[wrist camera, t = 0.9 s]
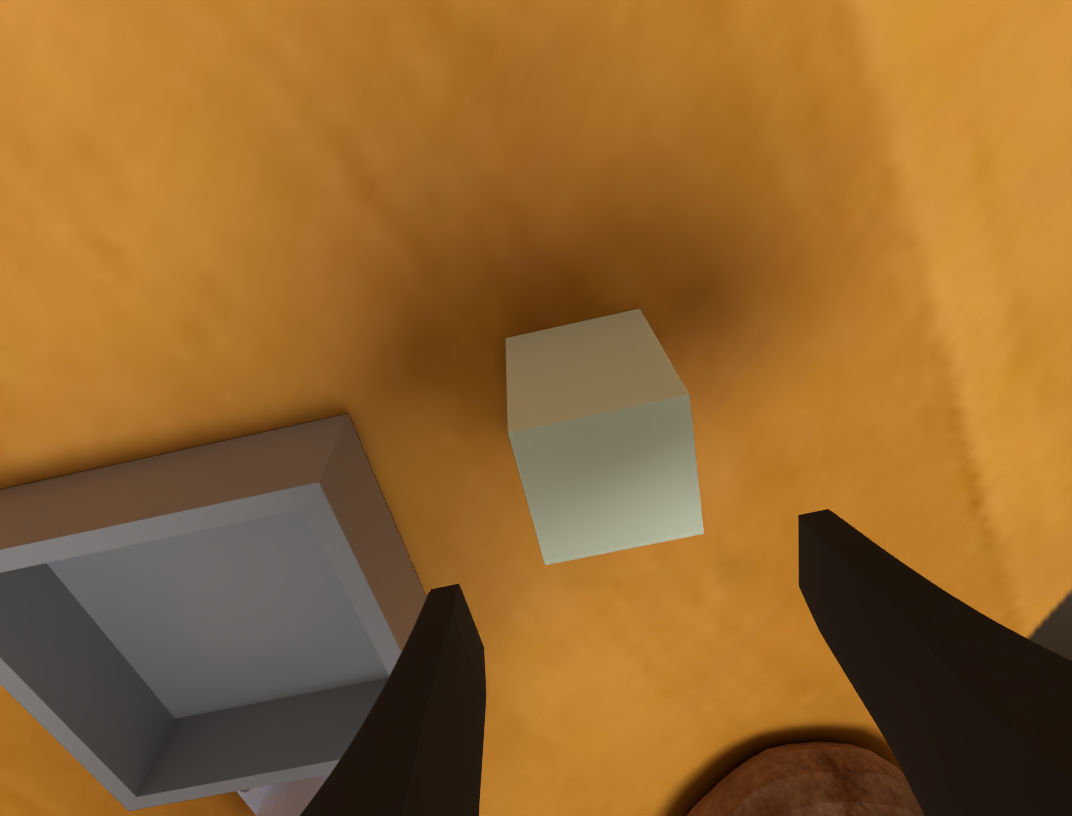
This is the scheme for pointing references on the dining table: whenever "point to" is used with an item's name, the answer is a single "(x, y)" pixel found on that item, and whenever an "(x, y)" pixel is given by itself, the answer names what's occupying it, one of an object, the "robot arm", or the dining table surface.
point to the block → (601, 437)
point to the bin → (206, 611)
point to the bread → (812, 784)
